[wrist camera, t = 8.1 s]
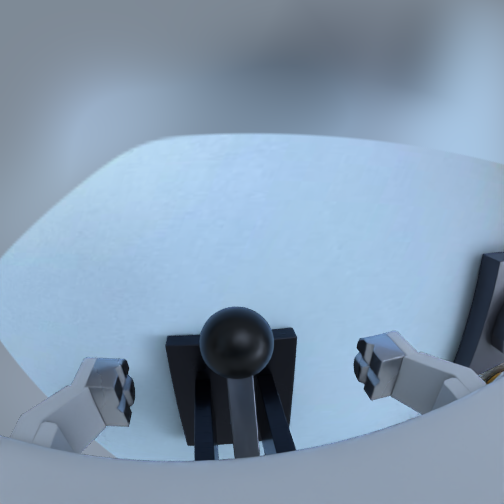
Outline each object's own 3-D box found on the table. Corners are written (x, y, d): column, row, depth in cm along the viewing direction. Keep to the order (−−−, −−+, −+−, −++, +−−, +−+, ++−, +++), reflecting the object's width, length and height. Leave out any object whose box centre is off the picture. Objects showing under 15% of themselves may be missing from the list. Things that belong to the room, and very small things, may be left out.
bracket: (167, 335, 18) (142, 503, 7) (292, 327, 19) (368, 478, 8) (187, 435, 21) (189, 563, 10) (285, 427, 22) (324, 548, 11)
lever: (199, 310, 15) (194, 306, 11) (264, 306, 15) (277, 301, 12) (222, 517, 12) (224, 549, 9) (280, 511, 12) (293, 541, 9)
